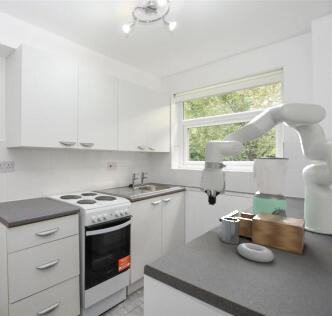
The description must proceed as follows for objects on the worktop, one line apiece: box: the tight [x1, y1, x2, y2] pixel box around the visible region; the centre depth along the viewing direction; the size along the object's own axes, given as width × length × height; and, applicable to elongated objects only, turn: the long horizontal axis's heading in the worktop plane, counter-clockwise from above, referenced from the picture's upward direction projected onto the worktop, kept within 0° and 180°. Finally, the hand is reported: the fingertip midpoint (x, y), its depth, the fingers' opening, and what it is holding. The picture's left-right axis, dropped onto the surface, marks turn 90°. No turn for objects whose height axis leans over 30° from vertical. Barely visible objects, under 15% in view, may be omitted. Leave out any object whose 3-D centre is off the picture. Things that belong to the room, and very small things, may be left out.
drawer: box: [218, 210, 256, 239], centre depth 96 cm, size 18×13×8 cm
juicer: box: [251, 155, 290, 217], centre depth 108 cm, size 19×13×35 cm
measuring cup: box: [220, 216, 240, 245], centre depth 89 cm, size 6×6×9 cm
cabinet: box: [251, 213, 306, 255], centre depth 88 cm, size 15×15×10 cm
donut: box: [237, 242, 275, 263], centre depth 75 cm, size 10×4×10 cm
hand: (211, 204), depth 106 cm, fingers closed
